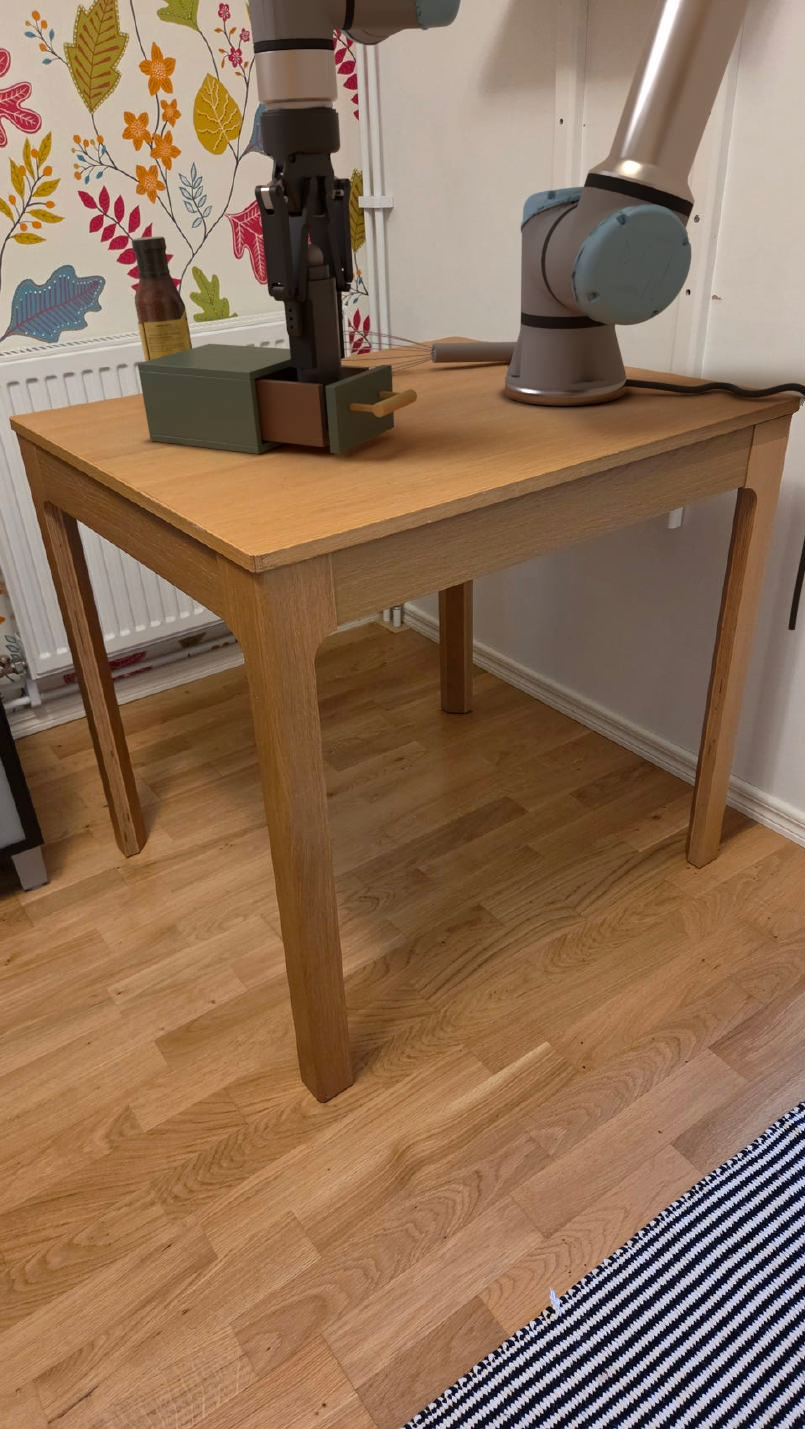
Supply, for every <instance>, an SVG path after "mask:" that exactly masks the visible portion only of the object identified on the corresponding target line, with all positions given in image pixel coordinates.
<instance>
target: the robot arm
mask: <svg viewBox="0 0 805 1429" xmlns="http://www.w3.org/2000/svg"><path fill="white" fill-rule="evenodd" d="M247 1H248V11H249V19H250V28H251V29H250V30H251V38H252V44H253V46H252V48H253V54H254V61H255V62H254V64H255V74H256V87H257V98H258V103H259V104H260V105H262V106H263V105H265V111H261V115H260V116H259V124H260V133H261V144H262V146H261V147H262V151H263V153H264V155H266V156H268V157H272V160H273V161H272V162H273V163H272V173H271V180H270V181H269V182H268V183H267V184H262V185H261V184H259V185H256V186H255V187H254V196H255V200H256V203H257V206H258V210H259V213H260V222H261V230H262V231H261V232H262V242H263V250H264V251H263V253H264V254H263V255H264V262H265V263H264V264H265V272H266V284H267V292H268V296H270V297H271V298H273V299H274V301H276V302H283V306H284V307H283V308H284V316H285V326H286V332H287V335H288V343H289V345H288V346H289V349H290V356H291V367H292V368H305V369H314V368H317V364H316V351H315V339H314V326H313V314H312V301H305V298H306V281H307V260H308V244H309V241H310V244H314V245H316V246H318V247H319V248H320V250H321V251H322V254H323V263H322V264H328V265H329V276H334V277H335V279H336V293H337V308H338V323H339V337H340V352H341V360H344V359H345V358H346V350H345V349H346V348H345V343H344V342H345V335H344V334H345V332H343V331H344V310H343V297H342V296H343V295H342V294H343V293H349V292H350V291H351V289H352V283H353V282H354V263H353V262H354V261H353V244H352V232H351V231H352V230H351V215H350V213H351V212H350V198H351V190H352V182H351V180H350V179H349V178H347V177H344V178H342V177H341V178H339V177H338V176H336V175H335V169H334V166H333V164H332V159H331V155H332V154H336V153H338V152H340V149H341V134H340V133H341V132H340V118H339V116H340V115H339V112H337V109H336V108H333V102H336V101H337V100H338V99H339V94H338V80H337V69H336V54H335V42H334V35H335V34H334V31H339V32H341V34H342V35H343V36H344V37H345V38H347V39H348V40H350V41H352V42H353V43H356V44H358V45H363V46H375V45H377V44H379V43H382V42H384V41H385V40H387V39H388V38H390V37H392V36H393V35H395V34H398V33H400V32H402V31H404V30H416V29H417V30H418V29H420V30H422V31H427V30H429V29H434V28H446V27H448V26H450V25H452V24H453V23H454V21H455V20H456V19H457V16H458V13H459V10H460V6H461V0H247ZM750 1H751V0H657V2H656V5H655V8H654V11H653V14H652V18H651V21H650V23H649V27H648V30H647V34H646V36H645V40H644V43H643V47H642V49H641V52H640V54H639V55H640V56H639V58H638V63H637V65H636V68H635V72H634V75H633V78H632V81H631V84H630V88H629V91H628V93H627V97H626V100H625V102H624V106H623V109H622V112H621V116H620V119H619V122H618V125H617V127H616V128H617V129H616V131H615V134H614V138H613V141H612V145H611V147H610V151H609V153H608V155H607V157H606V158H605V159H604V160H603V161H601V162H600V163H598V164H596V165H595V166H594V167H592V168H590V169H588V172H587V174H586V178H585V181H584V185H583V186H575V187H574V186H573V187H566V188H559V189H550V190H544V191H540V192H536V193H534V194H531V195H530V196H529V197H528V198H527V199H526V200H525V202H524V204H523V209H522V221H521V223H520V234H521V260H520V261H521V267H520V268H521V269H520V270H521V272H520V328H519V334H518V336H517V340H516V342H517V343H516V346H515V349H514V352H513V355H512V356H511V357H510V359H509V361H508V362H507V366H506V368H507V372H506V375H505V378H504V394H505V395H506V397H507V398H510V399H511V400H514V401H517V402H522V403H526V404H531V405H533V404H534V405H543V406H584V405H594V404H600V403H605V402H610V401H613V400H616V399H619V398H621V397H622V396H624V395H625V394H626V390H627V387H629V388H638V389H648V390H657V391H664V392H671V393H676V394H677V393H678V394H690V395H691V394H701V393H706V392H710V391H715V390H720V391H721V390H723V391H727V392H729V393H731V394H733V395H735V396H737V397H741V398H747V399H758V398H764V397H769V396H773V395H777V394H780V393H785V392H795V393H796V392H797V393H800V394H801V395H803V396H804V397H805V385H804V384H801V383H797V382H789V383H783V384H779V385H775V386H771V387H767V388H763V389H756V390H755V389H754V390H753V389H752V390H751V389H746V388H745V389H744V388H741V387H739V386H737V385H736V384H733V383H732V382H731V383H730V382H722V381H719V382H718V381H712V382H708V383H704V384H699V385H680V384H674V383H673V384H672V383H668V382H666V383H665V382H661V381H659V382H658V381H650V380H639V379H630V378H627V373H626V369H625V365H624V360H623V357H622V356H623V355H622V352H621V348H620V344H619V341H618V336H617V332H616V325H617V326H633V325H638V324H642V323H646V322H647V321H649V320H651V319H653V318H655V317H656V316H658V315H660V314H661V313H663V312H664V311H665V310H666V309H667V308H668V307H669V306H670V305H671V304H672V303H673V302H674V301H675V300H676V298H677V297H678V295H679V294H680V292H681V291H682V289H683V287H684V285H685V284H686V281H687V278H688V276H689V272H690V269H691V263H692V244H691V243H690V238H689V236H688V235H689V233H688V230H687V226H688V223H689V220H690V217H691V215H692V211H693V208H694V205H695V201H696V200H695V198H694V196H693V193H692V191H691V188H690V186H689V175H690V173H691V171H692V167H693V165H694V161H695V159H696V156H697V153H698V151H699V147H700V144H701V141H702V139H703V136H704V133H705V130H706V128H707V124H708V122H709V118H710V116H711V113H712V111H713V107H714V104H715V102H716V98H717V95H718V92H719V90H720V87H721V85H722V82H723V79H724V77H725V76H724V75H725V73H726V70H727V67H728V64H729V62H730V59H731V56H732V53H733V51H734V48H735V44H736V43H737V39H738V36H739V33H740V30H741V27H742V24H743V22H744V19H745V16H746V13H747V10H748V7H749V5H750ZM795 578H796V579H795V584H794V590H793V594H792V600H791V606H790V612H789V619H788V621H789V622H788V626H787V630H789V631H795V630H796V625H797V618H798V612H799V606H800V601H801V600H800V599H801V595H802V589H803V583H804V579H805V536H804V538H803V543H802V547H801V554H800V559H799V564H798V569H797V574H796V577H795Z"/></svg>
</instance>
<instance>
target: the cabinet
mask: <svg viewBox="0 0 805 1429" xmlns="http://www.w3.org/2000/svg"><path fill="white" fill-rule="evenodd" d="M288 367H291V356H290V348H283V347H268V346H254V345H253V346H252V345H250V346H249V345H238V344H237V345H235V344H222V343H206V344H203V345H199V346H196V347H192V349H188V350H185V351H181V352H178V353H174V354H170V355H167V356H163V357H159V358H156V359H152V360H148V361H145V360H144V361H142V362H138V363H137V369H138V375H139V380H140V386H141V392H142V393H141V394H142V398H143V404H144V410H145V417H146V422H147V427H148V434H149V439H150V441H151V442H158V443H167V444H174V445H183V446H189V447H196V448H197V447H198V448H206V449H213V450H222V451H229V452H236V453H237V452H238V453H247V454H253V455H260V454H263V453H265V452H267V451H269V450H272V449H274V448H277V447H279V446H281V445H283V444H285V443H284V442H275V441H267V440H261V432H260V423H259V414H258V405H257V396H256V387H255V378H258V377H261V376H264V375H267V374H270V373H273V372H276V371H279V370H282V369H285V368H288Z"/></svg>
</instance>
